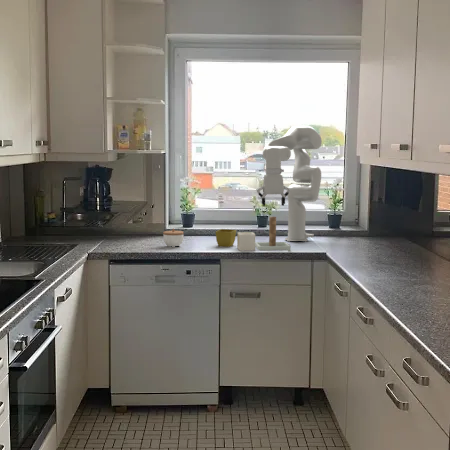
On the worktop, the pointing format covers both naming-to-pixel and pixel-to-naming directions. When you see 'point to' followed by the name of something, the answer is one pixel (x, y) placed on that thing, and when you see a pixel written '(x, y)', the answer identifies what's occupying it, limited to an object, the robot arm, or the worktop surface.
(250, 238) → the white square holder
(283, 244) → the tray
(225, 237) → the flower pot
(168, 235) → the lidded jar
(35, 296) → the worktop surface
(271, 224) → the dowel
